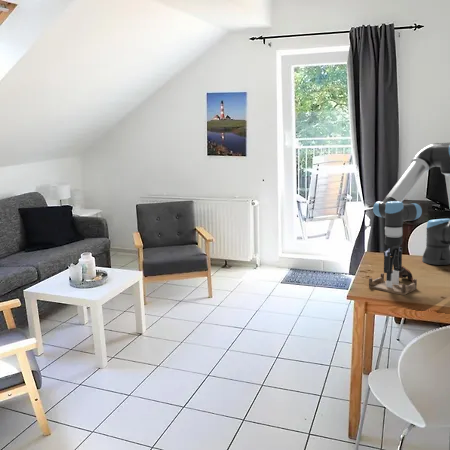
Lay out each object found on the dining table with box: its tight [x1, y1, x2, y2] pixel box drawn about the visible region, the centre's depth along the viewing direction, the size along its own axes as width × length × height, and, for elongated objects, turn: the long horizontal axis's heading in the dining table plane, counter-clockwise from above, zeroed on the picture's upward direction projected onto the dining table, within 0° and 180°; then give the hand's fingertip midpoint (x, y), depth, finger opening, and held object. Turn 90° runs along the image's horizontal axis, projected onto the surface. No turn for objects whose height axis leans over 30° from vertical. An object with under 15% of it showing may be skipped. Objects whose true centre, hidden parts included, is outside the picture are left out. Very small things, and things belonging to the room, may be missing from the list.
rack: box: [368, 272, 418, 296], centre depth 222 cm, size 12×17×4 cm
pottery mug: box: [392, 265, 414, 284], centre depth 233 cm, size 12×9×8 cm
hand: (392, 285), depth 222 cm, fingers open, 5 cm apart
